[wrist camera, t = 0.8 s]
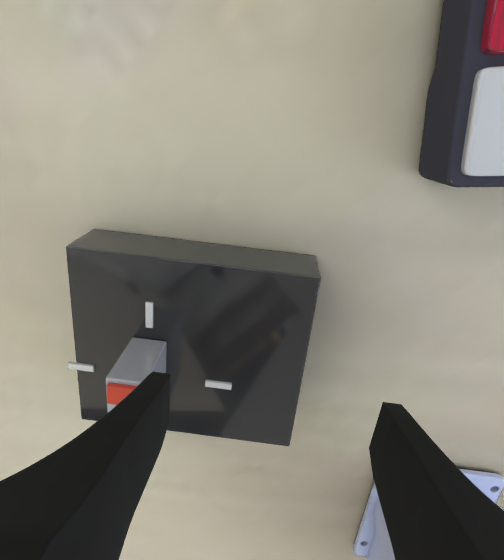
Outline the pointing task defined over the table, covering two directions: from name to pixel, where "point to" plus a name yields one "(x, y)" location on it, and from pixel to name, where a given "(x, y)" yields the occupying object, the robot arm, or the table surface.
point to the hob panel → (197, 327)
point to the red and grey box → (467, 98)
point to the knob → (134, 368)
